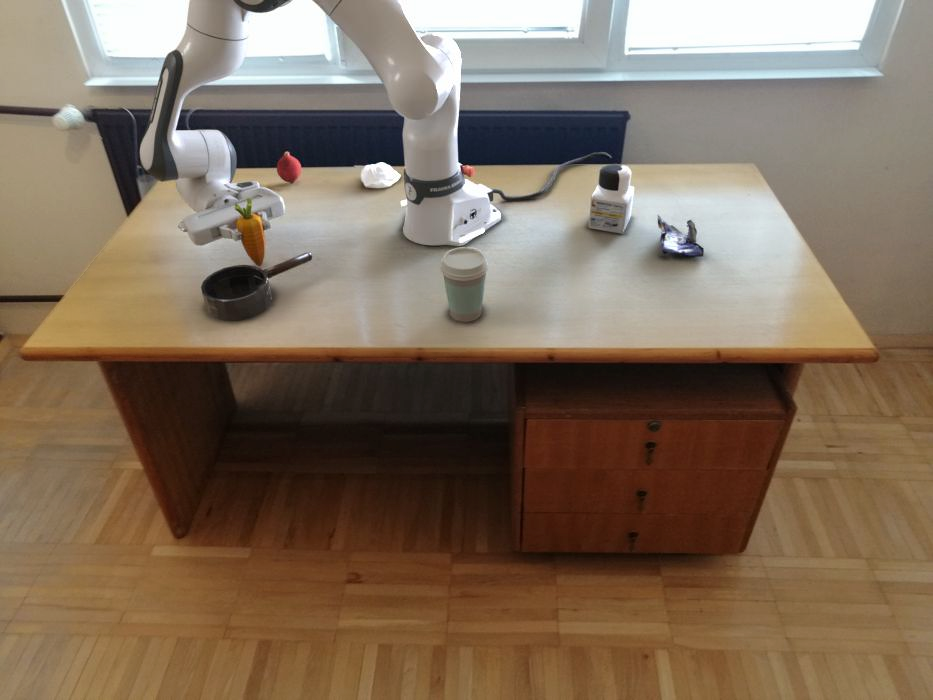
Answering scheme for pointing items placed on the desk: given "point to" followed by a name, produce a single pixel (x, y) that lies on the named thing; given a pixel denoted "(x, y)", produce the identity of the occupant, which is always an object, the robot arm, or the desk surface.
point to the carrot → (251, 233)
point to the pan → (236, 292)
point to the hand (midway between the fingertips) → (253, 231)
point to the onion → (288, 168)
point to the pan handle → (288, 265)
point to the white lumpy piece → (378, 175)
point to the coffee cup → (464, 282)
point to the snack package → (679, 240)
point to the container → (612, 199)
